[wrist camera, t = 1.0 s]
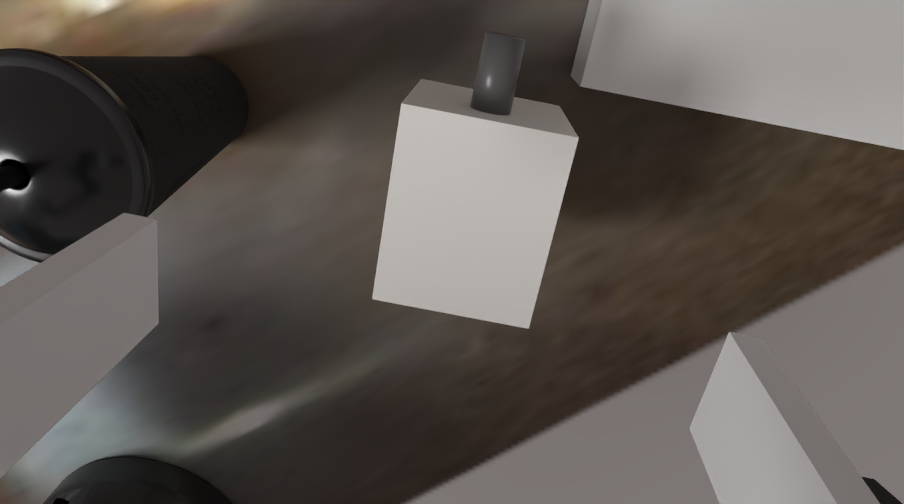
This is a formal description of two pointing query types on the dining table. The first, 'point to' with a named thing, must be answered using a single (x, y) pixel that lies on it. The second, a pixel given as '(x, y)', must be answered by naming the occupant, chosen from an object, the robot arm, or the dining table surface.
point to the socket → (756, 60)
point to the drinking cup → (103, 139)
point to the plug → (474, 193)
